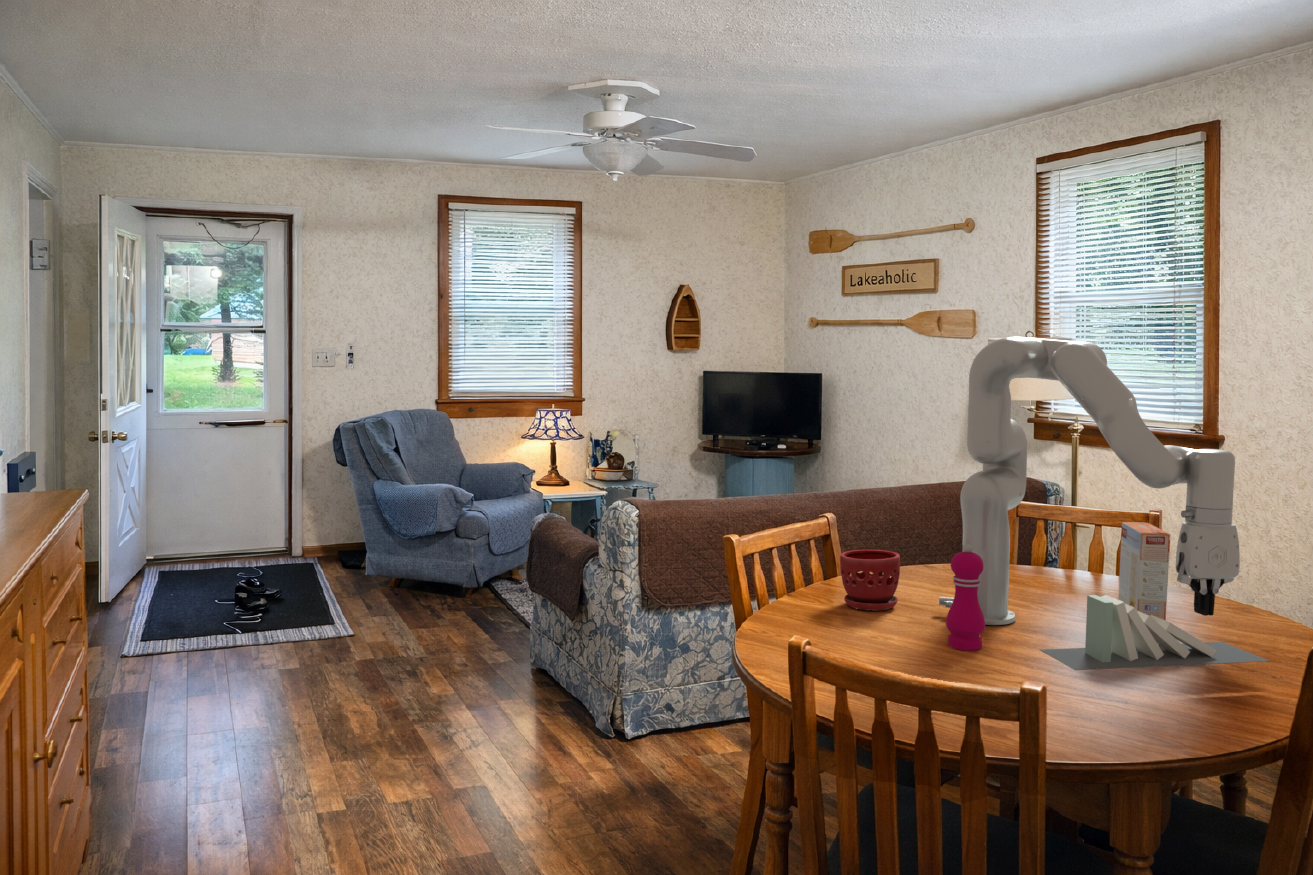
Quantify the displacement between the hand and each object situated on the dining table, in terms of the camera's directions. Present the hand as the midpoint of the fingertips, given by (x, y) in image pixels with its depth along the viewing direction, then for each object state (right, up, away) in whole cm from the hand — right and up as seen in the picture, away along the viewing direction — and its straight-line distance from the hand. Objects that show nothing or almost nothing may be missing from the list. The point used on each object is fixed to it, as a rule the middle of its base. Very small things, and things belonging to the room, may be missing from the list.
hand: (1203, 613), depth 182 cm
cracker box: (-2, -7, +20) cm, 21 cm away
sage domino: (-21, -8, -2) cm, 22 cm away
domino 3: (-5, -7, 0) cm, 9 cm away
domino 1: (-15, -7, -2) cm, 17 cm away
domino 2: (-10, -7, -1) cm, 13 cm away
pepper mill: (-42, -8, +6) cm, 44 cm away
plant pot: (-54, -5, +37) cm, 66 cm away
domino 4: (0, -7, +1) cm, 7 cm away
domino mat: (-10, -8, -1) cm, 13 cm away
